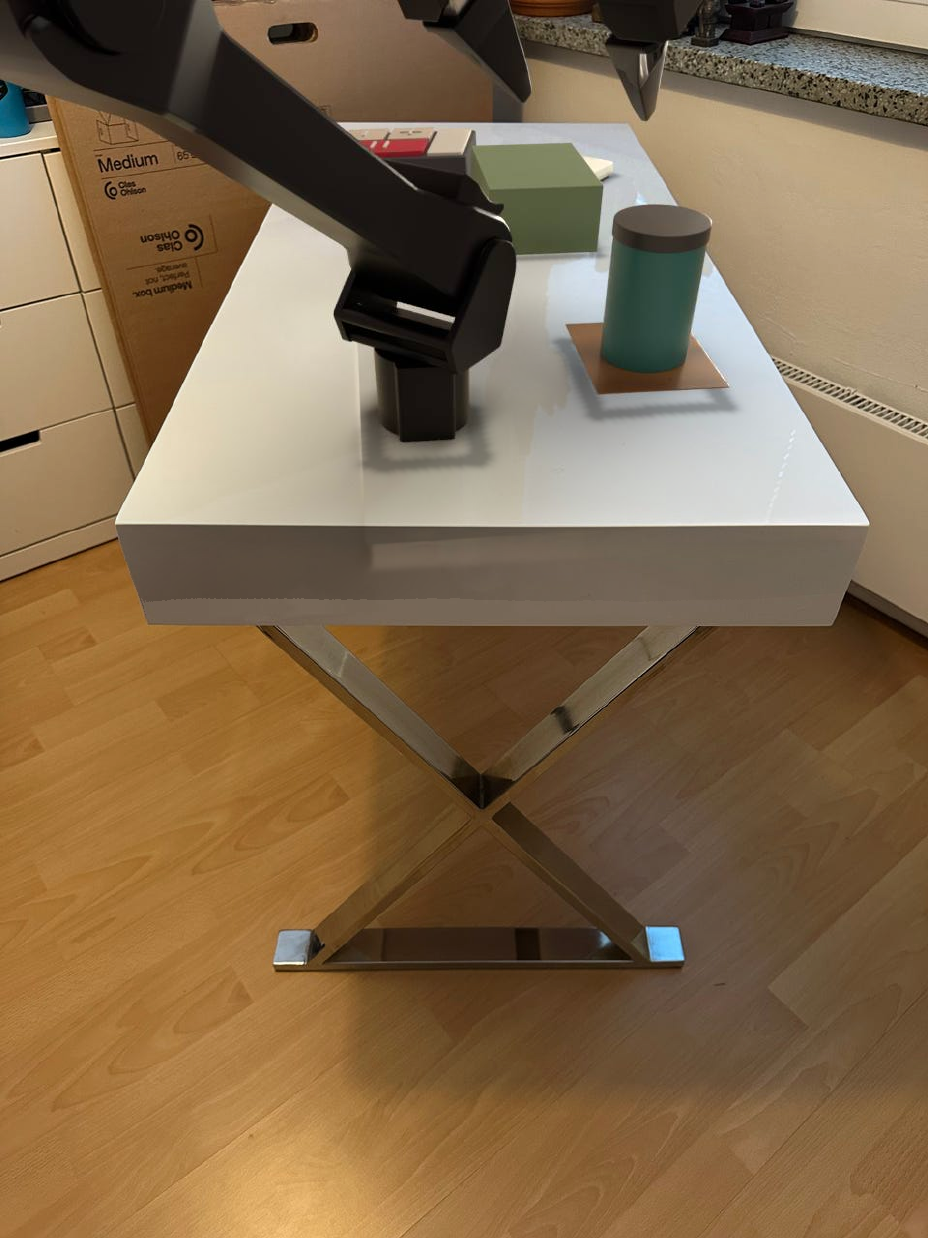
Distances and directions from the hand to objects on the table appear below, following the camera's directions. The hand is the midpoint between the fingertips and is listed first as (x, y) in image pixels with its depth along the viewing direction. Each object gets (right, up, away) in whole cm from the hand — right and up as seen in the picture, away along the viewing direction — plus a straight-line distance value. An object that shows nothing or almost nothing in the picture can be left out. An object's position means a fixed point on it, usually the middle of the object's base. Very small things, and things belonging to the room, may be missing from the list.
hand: (584, 106), depth 54 cm
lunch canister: (+5, -13, +7) cm, 16 cm away
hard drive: (+2, +16, +42) cm, 45 cm away
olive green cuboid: (-1, +6, +30) cm, 31 cm away
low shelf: (+5, -14, +8) cm, 17 cm away
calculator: (-14, +17, +43) cm, 49 cm away
